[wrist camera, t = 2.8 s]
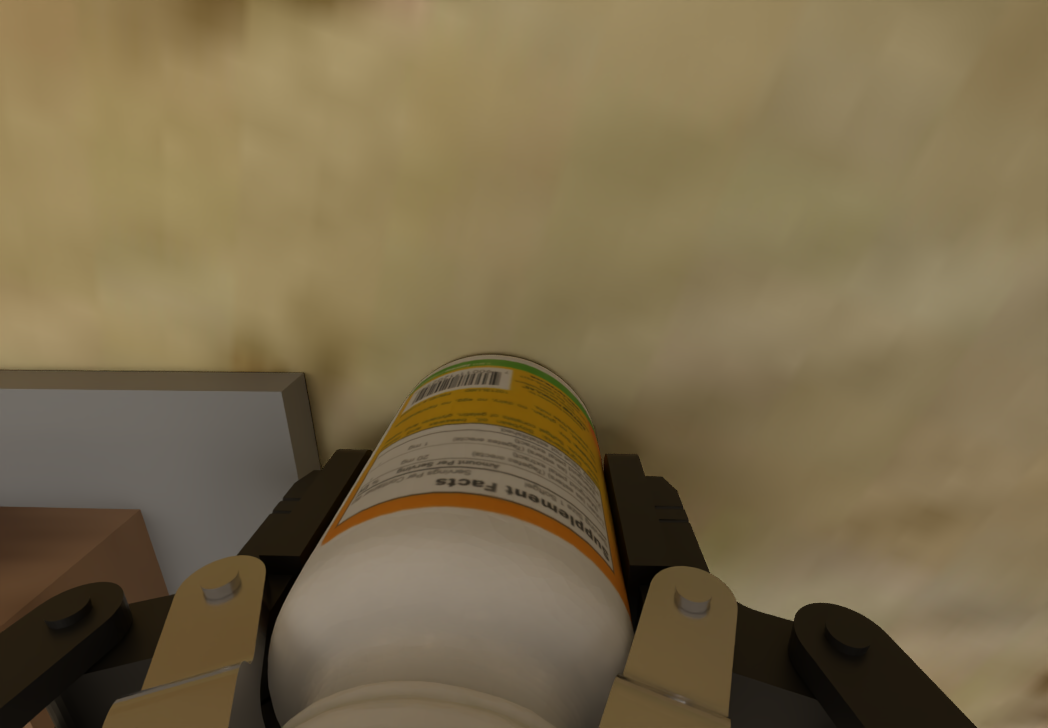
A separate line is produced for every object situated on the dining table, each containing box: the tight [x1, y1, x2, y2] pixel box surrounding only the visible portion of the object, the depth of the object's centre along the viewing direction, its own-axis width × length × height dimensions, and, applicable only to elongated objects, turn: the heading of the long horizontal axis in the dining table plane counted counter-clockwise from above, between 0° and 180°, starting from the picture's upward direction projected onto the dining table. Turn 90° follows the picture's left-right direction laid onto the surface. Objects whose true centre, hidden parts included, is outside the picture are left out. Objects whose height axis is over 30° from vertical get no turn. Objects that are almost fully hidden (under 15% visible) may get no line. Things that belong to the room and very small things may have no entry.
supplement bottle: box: [268, 355, 634, 728], centre depth 9 cm, size 5×5×10 cm
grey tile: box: [0, 370, 321, 595], centre depth 16 cm, size 18×16×1 cm
